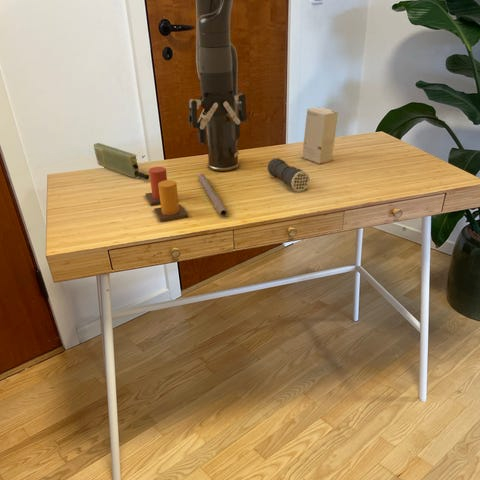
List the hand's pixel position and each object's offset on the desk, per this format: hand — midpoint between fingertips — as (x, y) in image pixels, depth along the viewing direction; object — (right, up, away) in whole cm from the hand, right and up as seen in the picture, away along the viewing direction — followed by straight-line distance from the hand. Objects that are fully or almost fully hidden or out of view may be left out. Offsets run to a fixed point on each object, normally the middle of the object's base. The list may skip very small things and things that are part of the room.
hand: (219, 142), depth 115 cm
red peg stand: (-16, -12, +10) cm, 22 cm away
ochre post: (-12, -18, +1) cm, 22 cm away
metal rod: (-2, -11, +10) cm, 15 cm away
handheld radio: (-31, +1, +27) cm, 41 cm away
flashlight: (+19, -5, +17) cm, 26 cm away
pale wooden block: (+30, +7, +33) cm, 45 cm away
